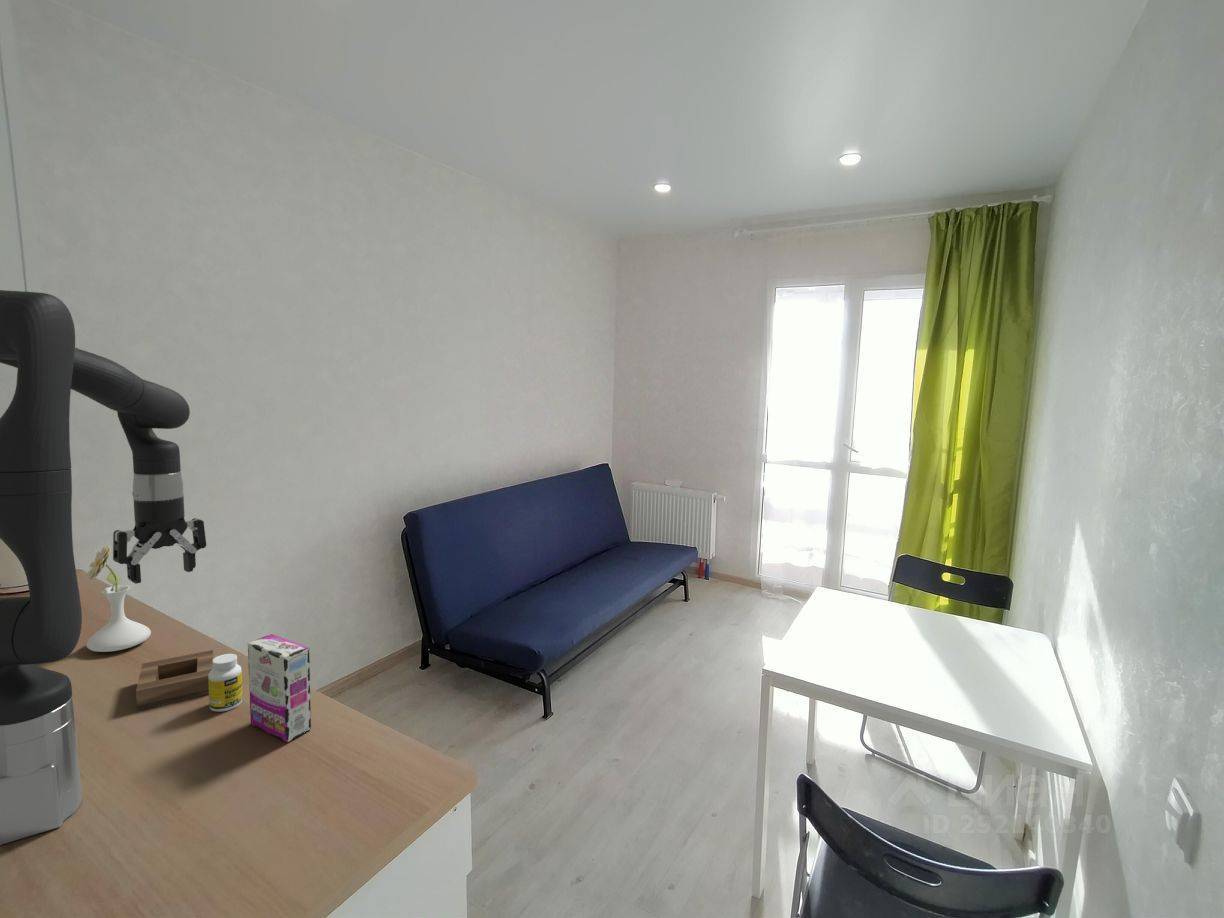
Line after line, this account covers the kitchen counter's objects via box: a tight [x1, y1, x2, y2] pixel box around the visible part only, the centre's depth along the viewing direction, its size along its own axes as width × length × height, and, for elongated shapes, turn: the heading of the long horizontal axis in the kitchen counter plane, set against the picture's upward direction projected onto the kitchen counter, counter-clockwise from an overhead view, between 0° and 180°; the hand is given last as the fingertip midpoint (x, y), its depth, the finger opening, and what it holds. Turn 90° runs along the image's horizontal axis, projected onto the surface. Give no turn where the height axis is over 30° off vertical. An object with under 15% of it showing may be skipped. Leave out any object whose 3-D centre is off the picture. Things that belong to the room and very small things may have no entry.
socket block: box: [135, 649, 215, 711], centre depth 115 cm, size 12×12×4 cm
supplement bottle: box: [208, 653, 243, 713], centre depth 110 cm, size 5×5×10 cm
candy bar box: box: [247, 633, 312, 743], centre depth 103 cm, size 11×5×16 cm, turn 64°
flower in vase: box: [85, 545, 152, 653], centre depth 128 cm, size 13×11×25 cm
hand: (163, 576), depth 109 cm, fingers open, 8 cm apart
